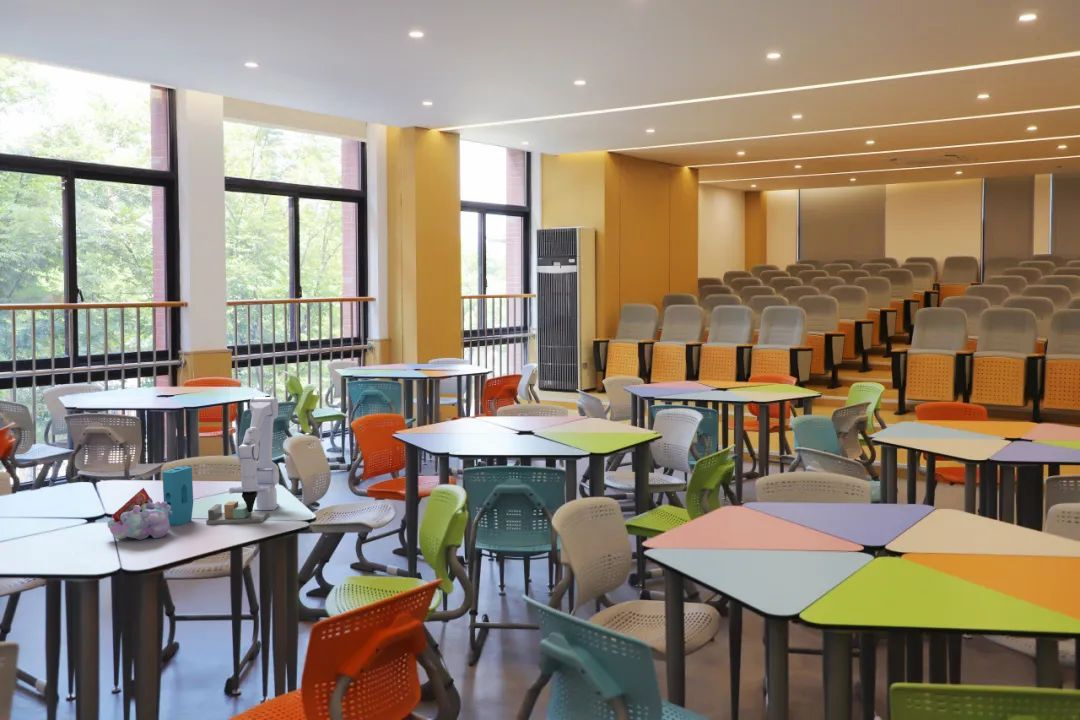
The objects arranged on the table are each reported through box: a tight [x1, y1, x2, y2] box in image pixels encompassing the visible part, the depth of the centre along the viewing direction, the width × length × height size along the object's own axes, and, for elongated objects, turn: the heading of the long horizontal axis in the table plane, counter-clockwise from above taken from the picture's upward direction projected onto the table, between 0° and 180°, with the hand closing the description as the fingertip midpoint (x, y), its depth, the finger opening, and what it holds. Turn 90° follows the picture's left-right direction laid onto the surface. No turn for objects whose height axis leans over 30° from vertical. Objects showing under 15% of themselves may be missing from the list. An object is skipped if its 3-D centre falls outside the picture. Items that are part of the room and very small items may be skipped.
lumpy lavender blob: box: [107, 487, 172, 541], centre depth 323 cm, size 20×22×18 cm
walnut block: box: [223, 500, 239, 518], centre depth 346 cm, size 6×4×5 cm, turn 3°
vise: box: [205, 503, 270, 525], centre depth 347 cm, size 12×20×5 cm, turn 93°
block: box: [162, 466, 194, 527], centre depth 343 cm, size 12×5×20 cm, turn 167°
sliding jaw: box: [233, 503, 251, 519], centre depth 347 cm, size 10×4×3 cm, turn 3°
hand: (250, 511), depth 347 cm, fingers closed
